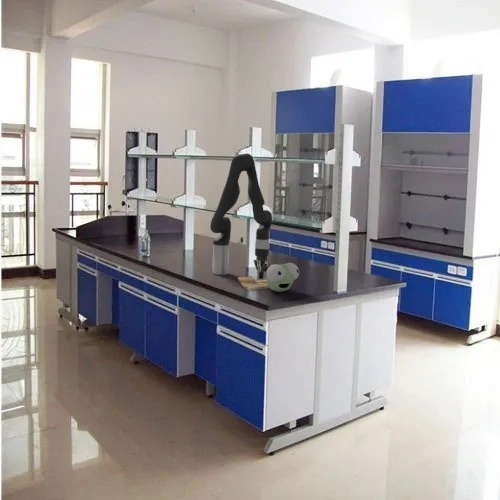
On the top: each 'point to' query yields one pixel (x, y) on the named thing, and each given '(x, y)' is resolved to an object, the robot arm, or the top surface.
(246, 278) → the plank near
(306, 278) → the top surface
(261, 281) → the plank far
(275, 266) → the toy
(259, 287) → the laid strip
